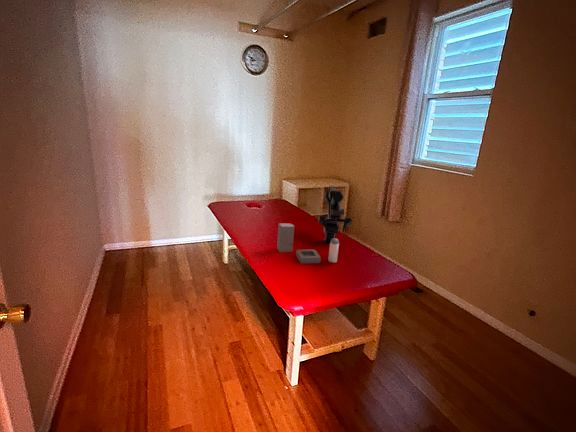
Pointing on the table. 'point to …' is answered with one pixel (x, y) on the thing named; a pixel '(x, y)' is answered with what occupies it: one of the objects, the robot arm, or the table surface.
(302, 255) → the jig
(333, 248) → the grey round-top peg
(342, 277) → the table surface
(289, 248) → the skincare box
